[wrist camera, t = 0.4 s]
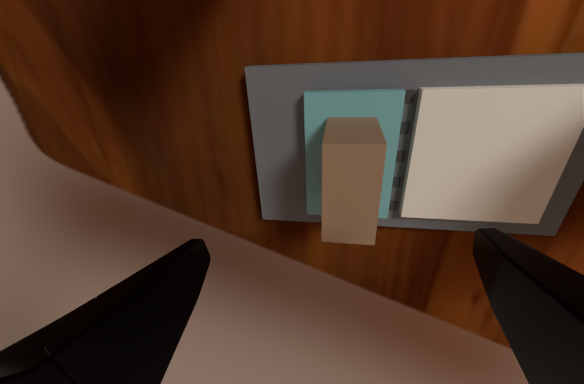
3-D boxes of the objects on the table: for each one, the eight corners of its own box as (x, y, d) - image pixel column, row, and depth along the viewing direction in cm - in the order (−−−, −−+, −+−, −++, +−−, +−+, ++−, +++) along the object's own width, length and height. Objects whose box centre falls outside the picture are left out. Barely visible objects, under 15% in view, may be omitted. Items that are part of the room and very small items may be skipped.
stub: (403, 88, 17) (427, 110, 12) (386, 212, 21) (398, 266, 16) (305, 90, 18) (289, 112, 13) (308, 208, 22) (297, 258, 17)
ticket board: (629, 50, 15) (665, 52, 14) (544, 226, 21) (562, 243, 19) (249, 65, 19) (240, 68, 17) (266, 211, 25) (260, 224, 23)
